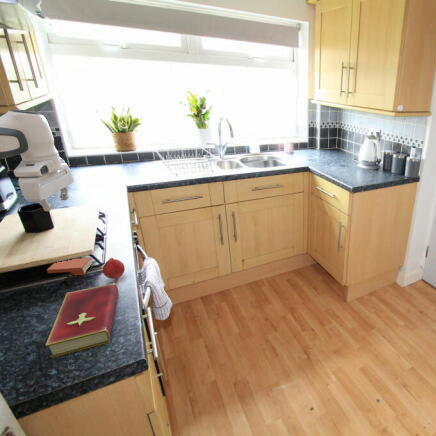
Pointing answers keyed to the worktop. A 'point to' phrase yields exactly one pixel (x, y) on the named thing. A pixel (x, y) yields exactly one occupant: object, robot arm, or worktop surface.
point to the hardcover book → (84, 320)
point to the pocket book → (71, 266)
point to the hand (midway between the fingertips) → (57, 204)
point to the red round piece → (113, 268)
